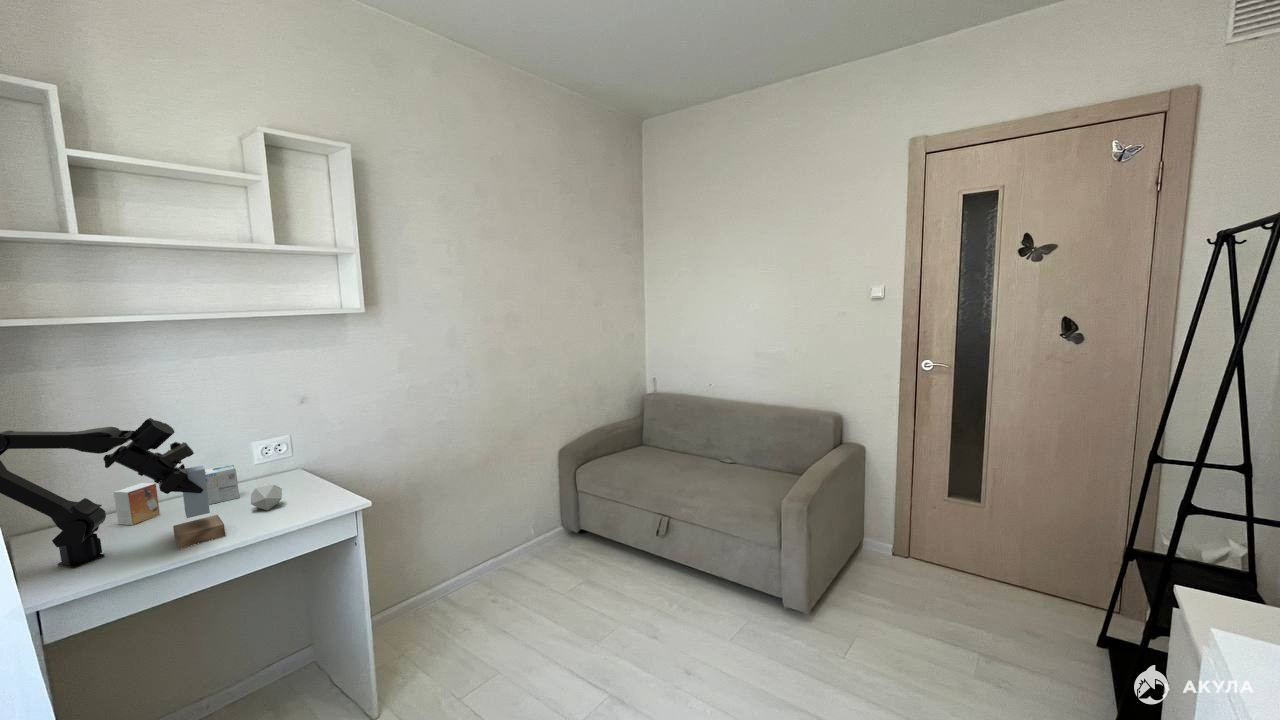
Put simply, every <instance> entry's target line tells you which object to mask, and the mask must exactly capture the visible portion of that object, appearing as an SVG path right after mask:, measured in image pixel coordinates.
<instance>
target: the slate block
mask: <svg viewBox="0 0 1280 720" xmlns="http://www.w3.org/2000/svg"><path fill="white" fill-rule="evenodd" d="M182 470H184V471H187V473H188V479H190V480H191V481H192V482H194V483H195V484H197V485H198V486H199V487H201V488H202V489H203V491H202V493H189V492H182V497H183V504H184V512H185V517H186V519H189V518H190V519H191V518H193V517H194V518H195V517H198V516H203V515H207V514H210V513H211V511H210V504H209V501H208V493H207V485H206V476H205V470H206V469H205V467H204V465H197V466H192V467H185V469H182Z"/></svg>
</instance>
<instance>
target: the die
mask: <svg viewBox="0 0 1280 720" xmlns="http://www.w3.org/2000/svg"><path fill="white" fill-rule="evenodd" d="M282 498H283V488H281V487H280V486H278V485H276V484H274V483H271V482H266V481H265V482H264V483H262V484H260V485H257V486H256V487H255V488H254V489H253V491H252V492H251V494H250V505H251V506H253V507H257V508H258V509H261V510H265V511H269V510H270V509H272V508H274V507H275V506H277V505H278V504H279V503H280V501H281V500H282Z"/></svg>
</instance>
